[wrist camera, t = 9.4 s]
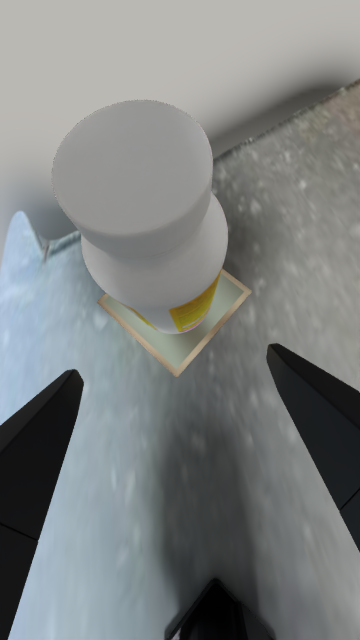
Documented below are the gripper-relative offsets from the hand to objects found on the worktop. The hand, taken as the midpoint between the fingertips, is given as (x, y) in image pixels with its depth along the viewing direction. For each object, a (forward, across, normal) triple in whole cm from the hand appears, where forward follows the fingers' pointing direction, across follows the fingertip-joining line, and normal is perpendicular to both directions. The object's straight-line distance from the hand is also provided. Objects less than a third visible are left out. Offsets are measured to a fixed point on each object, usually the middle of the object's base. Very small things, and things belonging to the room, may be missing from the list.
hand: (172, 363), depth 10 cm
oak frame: (+12, 0, +4) cm, 12 cm away
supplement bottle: (+10, 0, +2) cm, 10 cm away
